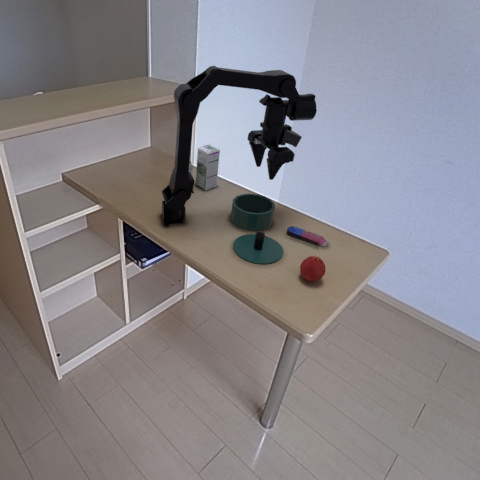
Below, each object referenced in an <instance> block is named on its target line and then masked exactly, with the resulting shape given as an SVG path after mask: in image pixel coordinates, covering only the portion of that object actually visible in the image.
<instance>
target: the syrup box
mask: <svg viewBox="0 0 480 480" xmlns="http://www.w3.org/2000/svg"><path fill="white" fill-rule="evenodd" d="M220 155H221V149H220V148H218V147H215V146H213V145H211V144H205V145H203V146H199V147H197V156H196V173H195V185H196V186H197V187H199V188H201V189H203V190H204V191H208V190H211V189H214V188H216V187H217V186H218V175H219V165H220Z"/></svg>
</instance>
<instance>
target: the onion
mask: <svg viewBox="0 0 480 480" xmlns="http://www.w3.org/2000/svg"><path fill="white" fill-rule="evenodd" d="M299 273H300V275H301V277H303V278H304V279H305V280H306V281H308V282H316V281H319V280H321V279H322V278H323V277H324V276H325V274H326V264H325V262H324V261H323V259H322V258H321V257H320V256H319V255H311V256H308V257H306V258H304V259H303V260H302V262H301V263H300V265H299Z"/></svg>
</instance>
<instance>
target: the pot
mask: <svg viewBox="0 0 480 480" xmlns="http://www.w3.org/2000/svg"><path fill="white" fill-rule="evenodd" d="M275 210H276V204H275V202H274V201H273V200H272V199H271V198H269V197H267V196H265V195H262V194H258V193H257V194H256V193H242V194H239V195H237V196H235V197H234V198H233V199H232V203H231V211H230V219H229V220H230V222H231V223H232V224H233V225H234V226H236V227H237V228H239V229H241V230H243V231H250V232H263V231H265V230H267V229H269V228H270V227H271V226H272V224H273V220H274V215H275Z"/></svg>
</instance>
